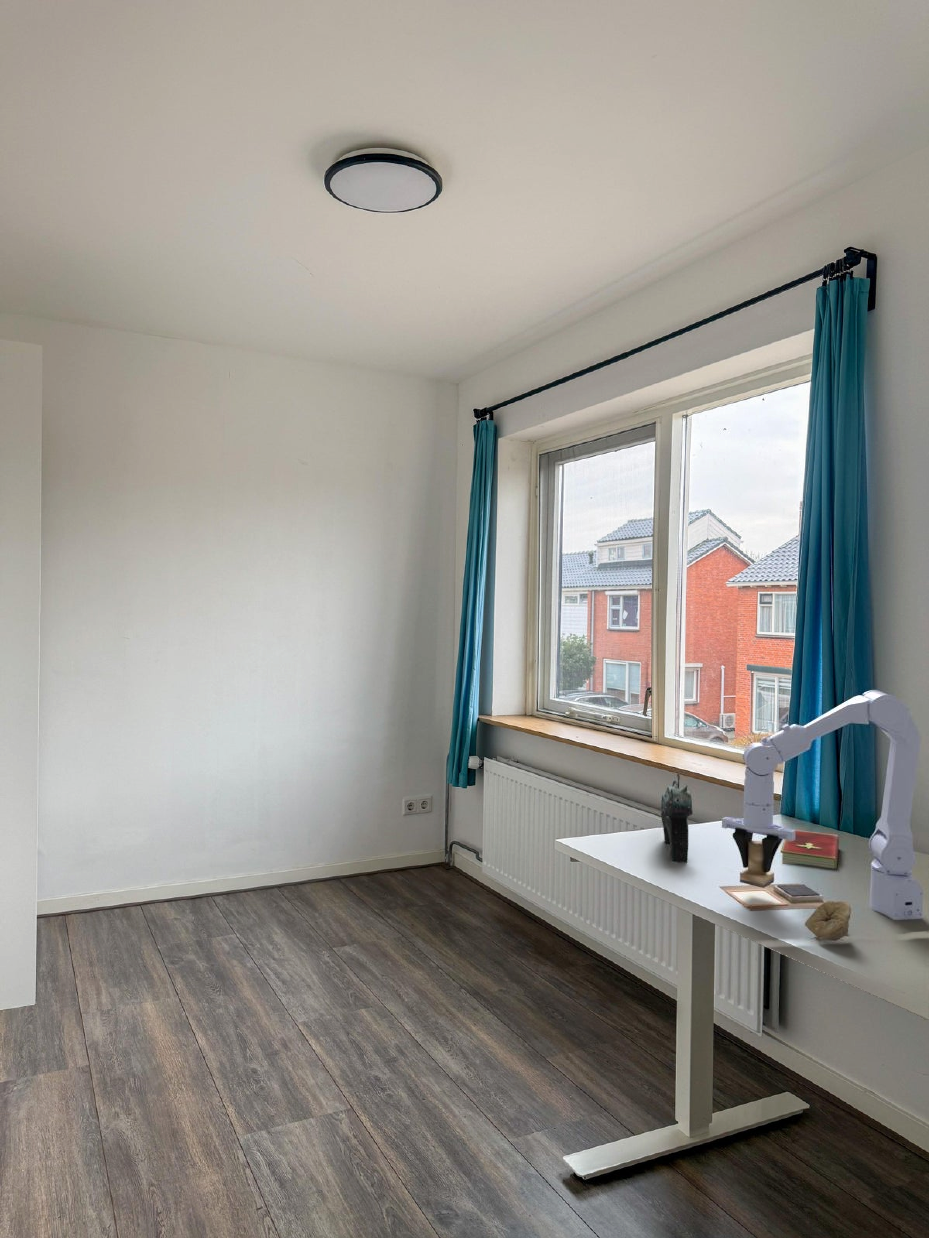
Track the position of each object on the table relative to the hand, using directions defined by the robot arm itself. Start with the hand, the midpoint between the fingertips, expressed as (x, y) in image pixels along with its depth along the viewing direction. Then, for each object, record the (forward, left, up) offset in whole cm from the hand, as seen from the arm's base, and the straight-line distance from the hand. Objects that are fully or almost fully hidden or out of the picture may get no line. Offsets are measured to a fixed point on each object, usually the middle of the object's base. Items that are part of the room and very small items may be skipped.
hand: (756, 868), depth 175 cm
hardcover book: (+28, -29, -8) cm, 41 cm away
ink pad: (0, -10, -6) cm, 11 cm away
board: (0, -5, -7) cm, 8 cm away
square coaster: (0, 0, -6) cm, 6 cm away
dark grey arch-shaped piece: (+35, +3, -7) cm, 36 cm away
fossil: (-18, -5, -7) cm, 20 cm away
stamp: (0, 0, -3) cm, 3 cm away
